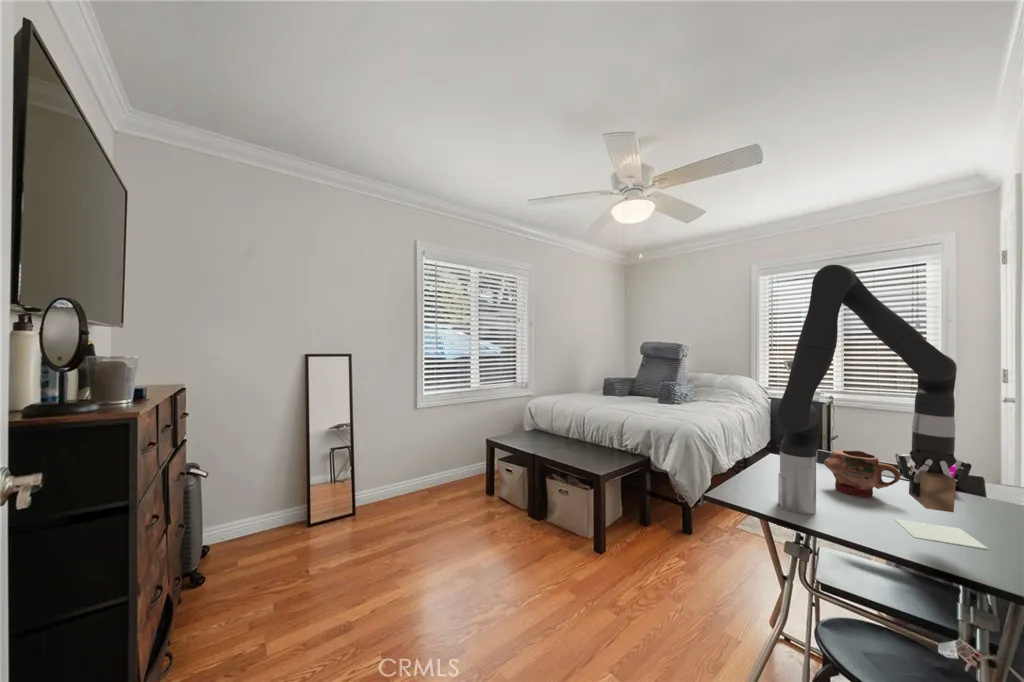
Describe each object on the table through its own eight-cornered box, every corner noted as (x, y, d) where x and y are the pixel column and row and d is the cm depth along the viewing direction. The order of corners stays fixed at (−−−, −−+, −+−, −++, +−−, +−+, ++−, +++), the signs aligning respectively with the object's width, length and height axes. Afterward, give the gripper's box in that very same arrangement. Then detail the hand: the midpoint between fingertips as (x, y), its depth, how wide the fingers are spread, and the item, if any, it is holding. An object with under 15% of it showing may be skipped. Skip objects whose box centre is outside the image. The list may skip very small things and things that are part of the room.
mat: (914, 538, 106) (914, 537, 106) (894, 520, 117) (894, 518, 117) (988, 550, 100) (988, 548, 100) (960, 530, 111) (960, 528, 111)
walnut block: (926, 508, 99) (928, 476, 99) (908, 493, 107) (910, 464, 107) (953, 512, 97) (955, 480, 97) (933, 497, 105) (935, 467, 105)
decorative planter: (902, 498, 134) (902, 456, 134) (899, 508, 126) (899, 464, 126) (827, 482, 149) (827, 445, 149) (820, 490, 141) (820, 451, 141)
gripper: (902, 431, 101) (900, 498, 102) (982, 439, 95) (979, 509, 96) (889, 425, 108) (887, 488, 109) (963, 432, 102) (960, 498, 103)
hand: (930, 497), depth 102 cm, fingers closed on walnut block, 5 cm apart
